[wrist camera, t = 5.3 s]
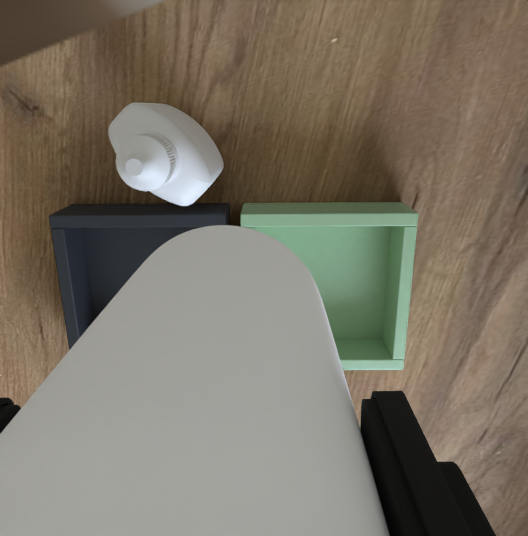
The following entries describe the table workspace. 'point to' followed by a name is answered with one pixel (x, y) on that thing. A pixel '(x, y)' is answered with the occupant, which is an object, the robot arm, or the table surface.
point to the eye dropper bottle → (164, 152)
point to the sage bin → (352, 270)
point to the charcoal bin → (114, 249)
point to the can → (196, 408)
